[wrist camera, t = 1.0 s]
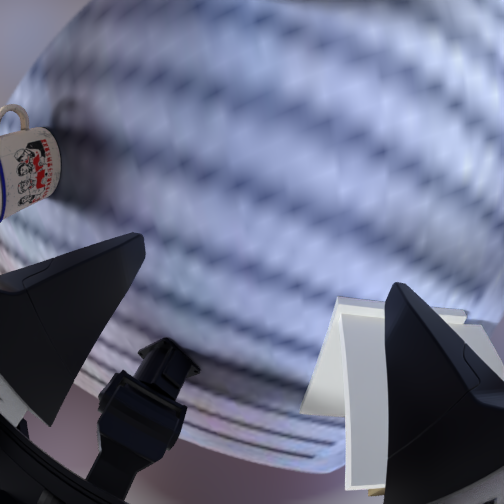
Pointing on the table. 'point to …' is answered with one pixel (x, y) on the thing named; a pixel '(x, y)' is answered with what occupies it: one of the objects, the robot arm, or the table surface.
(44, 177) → the teacup with lid
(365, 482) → the gauge base
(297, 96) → the table surface
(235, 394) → the table surface
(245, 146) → the table surface
